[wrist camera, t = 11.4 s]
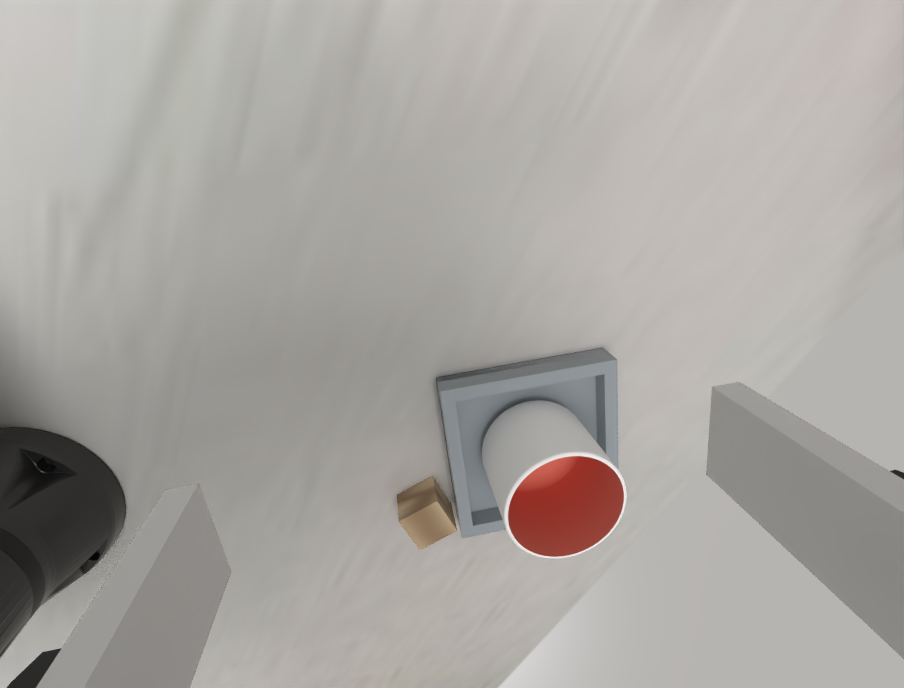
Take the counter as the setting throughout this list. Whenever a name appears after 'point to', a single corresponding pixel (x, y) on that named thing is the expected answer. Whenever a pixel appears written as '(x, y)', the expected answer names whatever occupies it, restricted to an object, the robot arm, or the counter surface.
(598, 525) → the cup
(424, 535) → the oak block
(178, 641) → the robot arm
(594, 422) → the tray
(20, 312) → the counter surface
